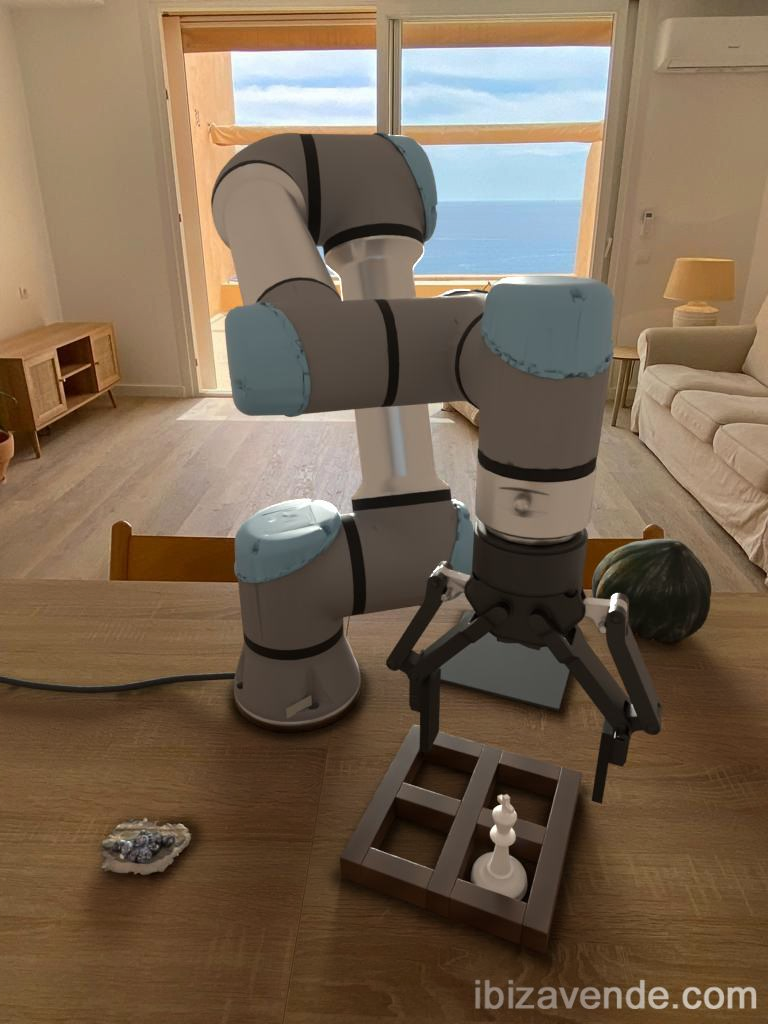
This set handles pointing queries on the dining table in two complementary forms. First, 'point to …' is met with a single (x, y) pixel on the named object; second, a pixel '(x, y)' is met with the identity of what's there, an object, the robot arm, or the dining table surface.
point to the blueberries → (143, 846)
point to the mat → (508, 672)
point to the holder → (467, 837)
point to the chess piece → (501, 857)
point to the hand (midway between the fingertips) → (510, 764)
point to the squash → (657, 588)
